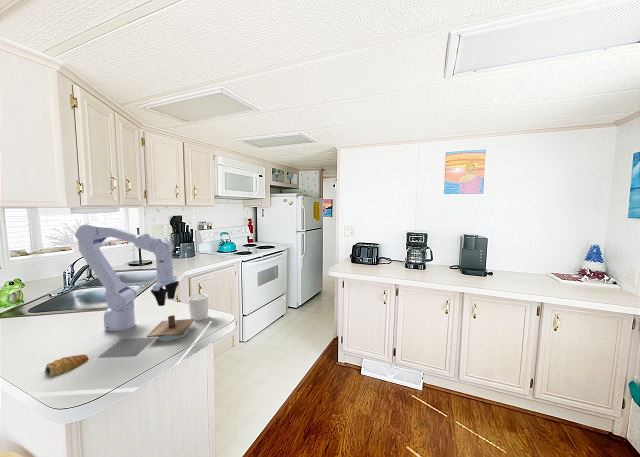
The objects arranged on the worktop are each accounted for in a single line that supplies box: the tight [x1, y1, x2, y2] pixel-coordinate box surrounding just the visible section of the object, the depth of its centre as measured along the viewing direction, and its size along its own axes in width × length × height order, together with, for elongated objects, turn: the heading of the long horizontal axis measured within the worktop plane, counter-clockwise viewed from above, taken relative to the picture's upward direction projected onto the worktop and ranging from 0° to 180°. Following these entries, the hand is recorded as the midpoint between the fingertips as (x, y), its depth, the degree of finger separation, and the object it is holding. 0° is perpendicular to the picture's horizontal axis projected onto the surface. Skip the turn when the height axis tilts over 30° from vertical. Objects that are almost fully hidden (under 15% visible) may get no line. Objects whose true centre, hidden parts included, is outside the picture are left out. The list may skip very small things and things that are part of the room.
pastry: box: [44, 354, 89, 378], centre depth 78 cm, size 9×7×4 cm
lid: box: [146, 315, 194, 338], centre depth 97 cm, size 12×12×5 cm
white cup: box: [187, 293, 209, 322], centre depth 113 cm, size 8×8×10 cm
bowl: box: [157, 328, 189, 342], centre depth 98 cm, size 10×10×3 cm
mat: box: [96, 337, 157, 359], centre depth 89 cm, size 12×12×1 cm
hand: (166, 302), depth 106 cm, fingers open, 7 cm apart
